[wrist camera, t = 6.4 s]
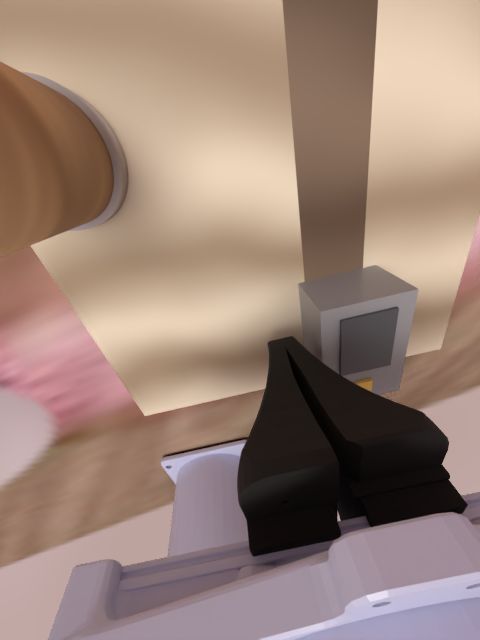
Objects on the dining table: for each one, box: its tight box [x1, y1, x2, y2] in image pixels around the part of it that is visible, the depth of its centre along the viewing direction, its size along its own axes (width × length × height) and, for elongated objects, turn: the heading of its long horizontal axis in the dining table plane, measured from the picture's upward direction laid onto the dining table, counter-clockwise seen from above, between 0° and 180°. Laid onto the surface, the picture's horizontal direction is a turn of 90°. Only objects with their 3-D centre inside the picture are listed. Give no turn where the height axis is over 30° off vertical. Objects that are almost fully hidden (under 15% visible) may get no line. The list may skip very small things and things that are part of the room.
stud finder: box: [298, 265, 419, 395], centre depth 13 cm, size 6×4×3 cm, turn 12°
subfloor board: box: [0, 0, 480, 416], centre depth 12 cm, size 18×20×2 cm
